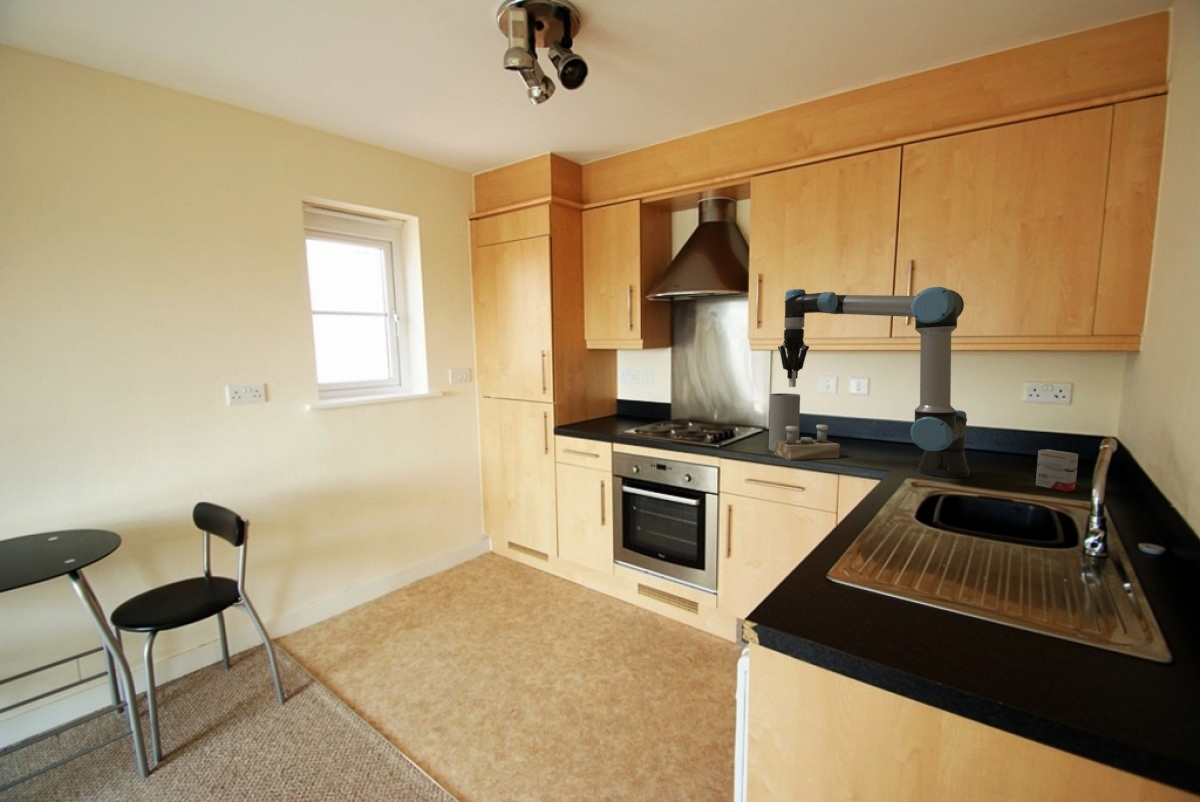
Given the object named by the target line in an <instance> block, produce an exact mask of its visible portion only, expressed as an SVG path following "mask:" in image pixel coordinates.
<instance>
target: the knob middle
mask: <svg viewBox="0 0 1200 802" xmlns="http://www.w3.org/2000/svg"><path fill="white" fill-rule="evenodd" d="M800 440H801V442H802V443H803V444H811V442H813V437H810V436H803V437H802V436H801V437H800Z"/></svg>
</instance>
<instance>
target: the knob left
mask: <svg viewBox="0 0 1200 802" xmlns="http://www.w3.org/2000/svg"><path fill="white" fill-rule="evenodd" d="M786 431H787V444H788V445H796V431H798V427H796V426H786Z"/></svg>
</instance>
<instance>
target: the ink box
mask: <svg viewBox="0 0 1200 802" xmlns="http://www.w3.org/2000/svg"><path fill="white" fill-rule="evenodd" d="M1078 461H1079V453H1076V452H1075V453H1074V452H1068V451H1061V450H1054V449H1040V450H1039V449H1038V452H1037V465H1036V466H1037V467H1036V478H1035V486H1039V487H1044V488H1047V489H1053V490H1058V491H1062V492H1071V491H1075V490H1076V484H1077V474H1078Z"/></svg>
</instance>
